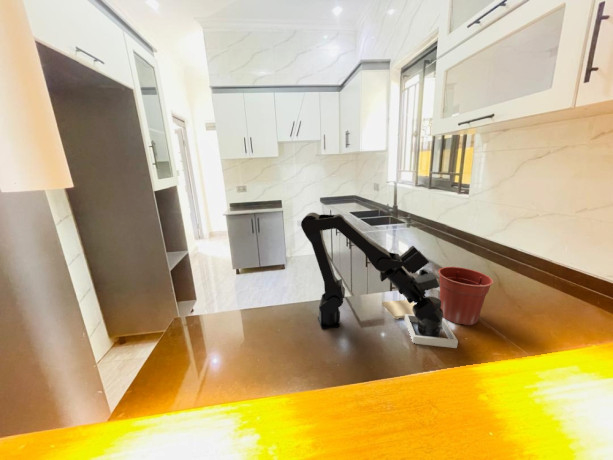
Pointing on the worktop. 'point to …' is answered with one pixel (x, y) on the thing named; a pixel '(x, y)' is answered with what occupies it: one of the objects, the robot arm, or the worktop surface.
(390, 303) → the birch board
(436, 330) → the supplement bottle
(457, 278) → the flower pot
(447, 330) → the frame
